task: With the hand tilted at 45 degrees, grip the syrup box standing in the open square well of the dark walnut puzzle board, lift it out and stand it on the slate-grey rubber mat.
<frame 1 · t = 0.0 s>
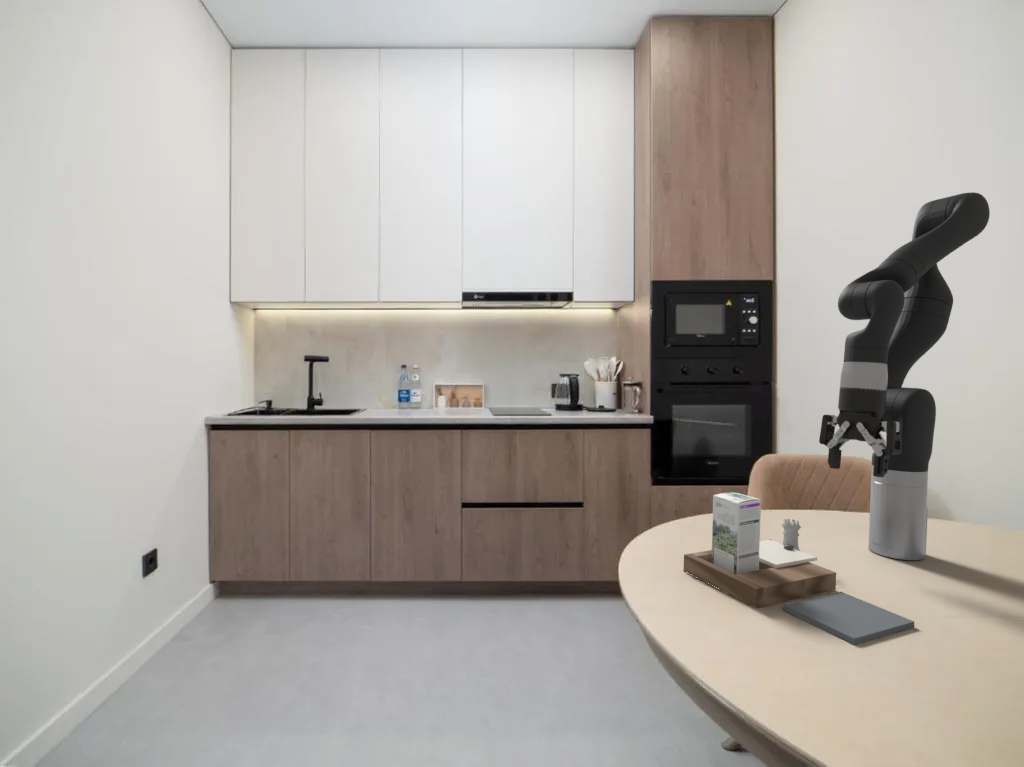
hand: (855, 472, 103), 17 cm above the table, tool pointing down, fingers open, 8 cm apart
sliding lid: (772, 551, 98), point 4 cm above the table, slide at -9.0 cm
rook chess piece: (789, 563, 103), on the table
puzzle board: (756, 580, 94), on the table
syrup box: (734, 579, 95), resting in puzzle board
rubber mat: (846, 618, 80), on the table
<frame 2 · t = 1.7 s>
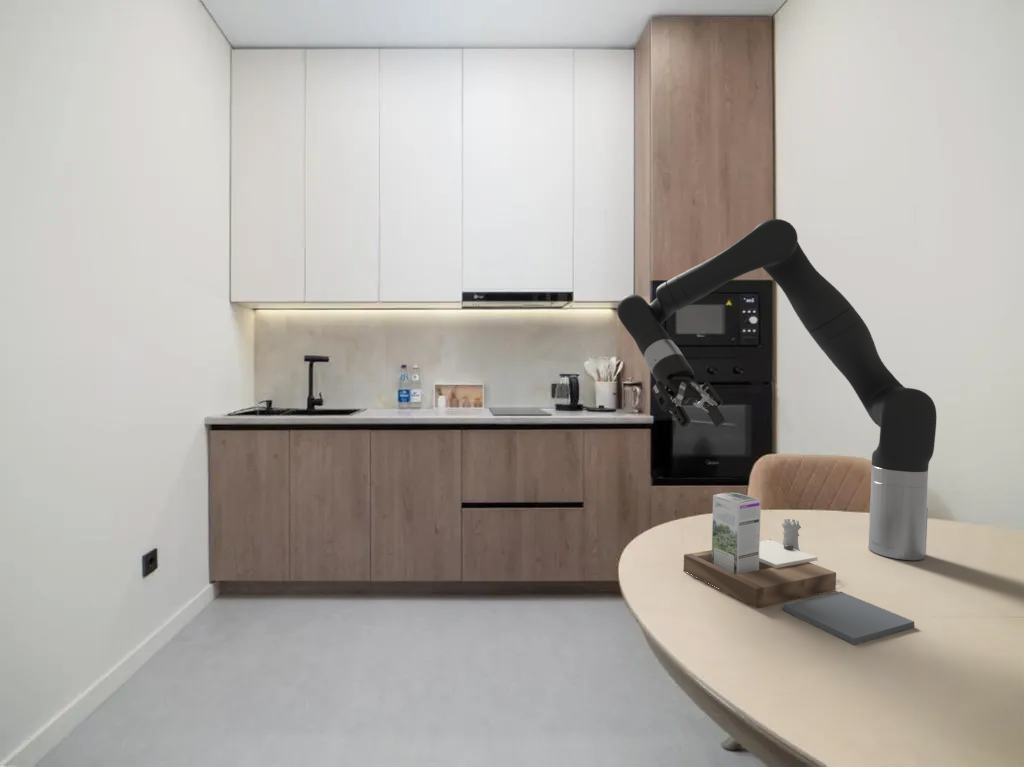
hand: (704, 424, 107), 25 cm above the table, tool tilted 45°, fingers open, 8 cm apart
nothing on the table moved.
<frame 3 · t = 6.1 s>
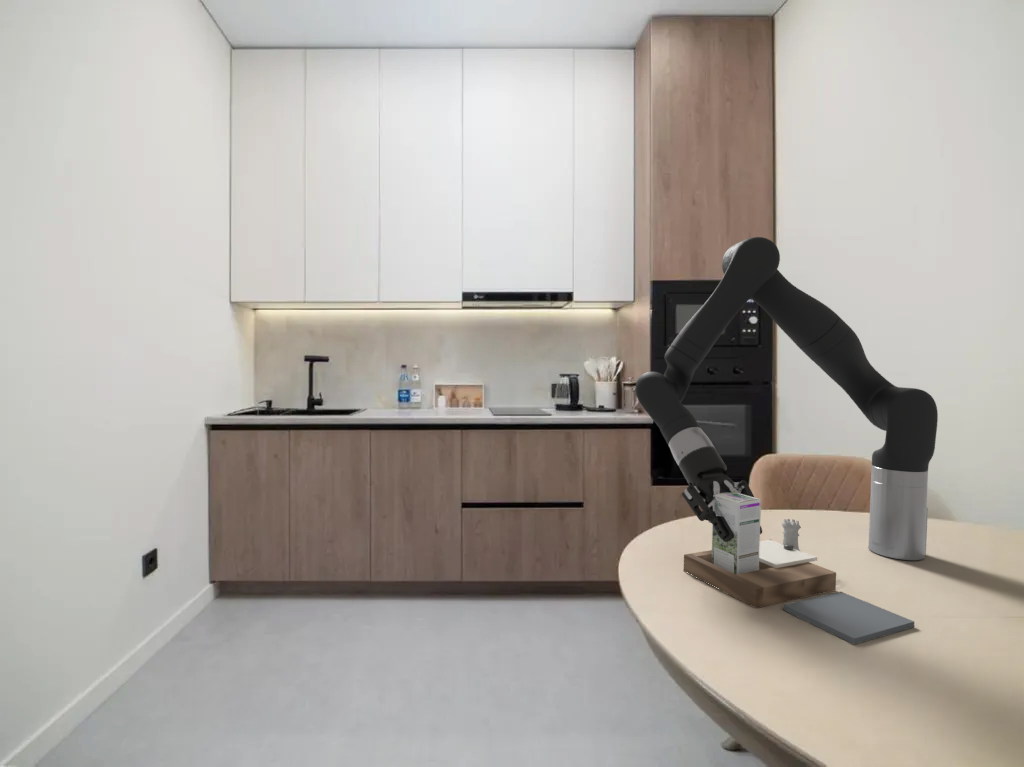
hand: (743, 537, 93), 8 cm above the table, tool tilted 45°, fingers closed on syrup box, 6 cm apart
syrup box: (734, 579, 95), resting in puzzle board, touching gripper
everything else where it was.
when the fingers open (10 cm above the table, at t = 12.7 s): syrup box drops 1 cm, resting on rubber mat.
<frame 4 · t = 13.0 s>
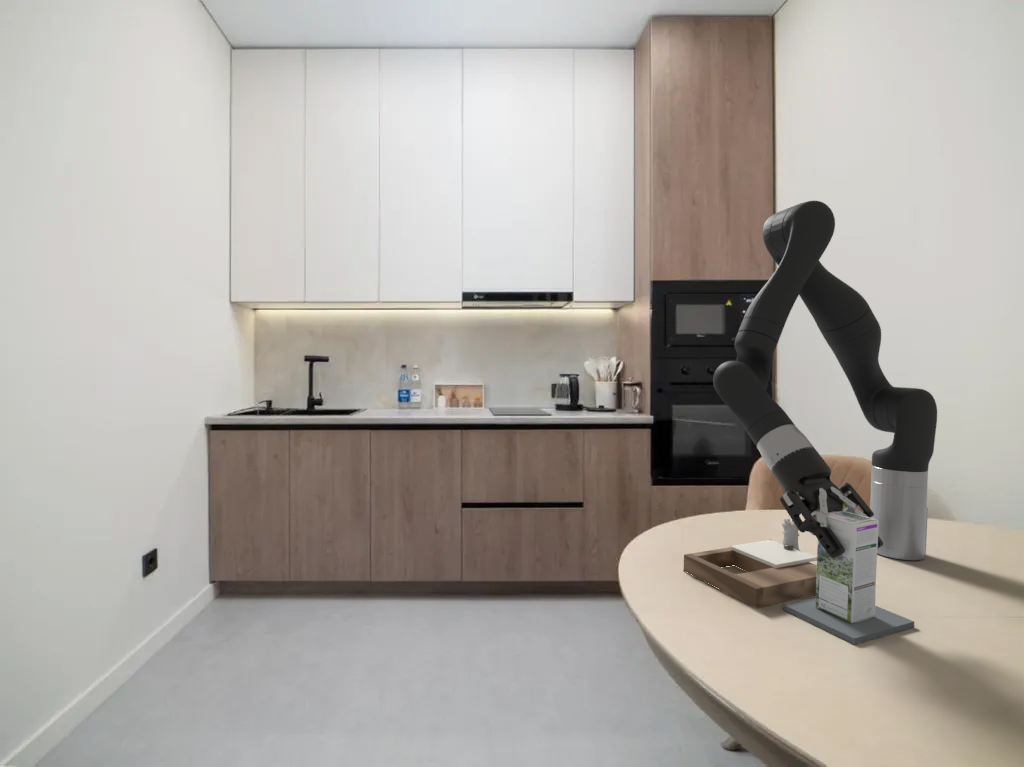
hand: (858, 551, 79), 10 cm above the table, tool tilted 45°, fingers open, 8 cm apart
syrup box: (844, 613, 81), point 1 cm above the table, touching rubber mat
everything else where it was.
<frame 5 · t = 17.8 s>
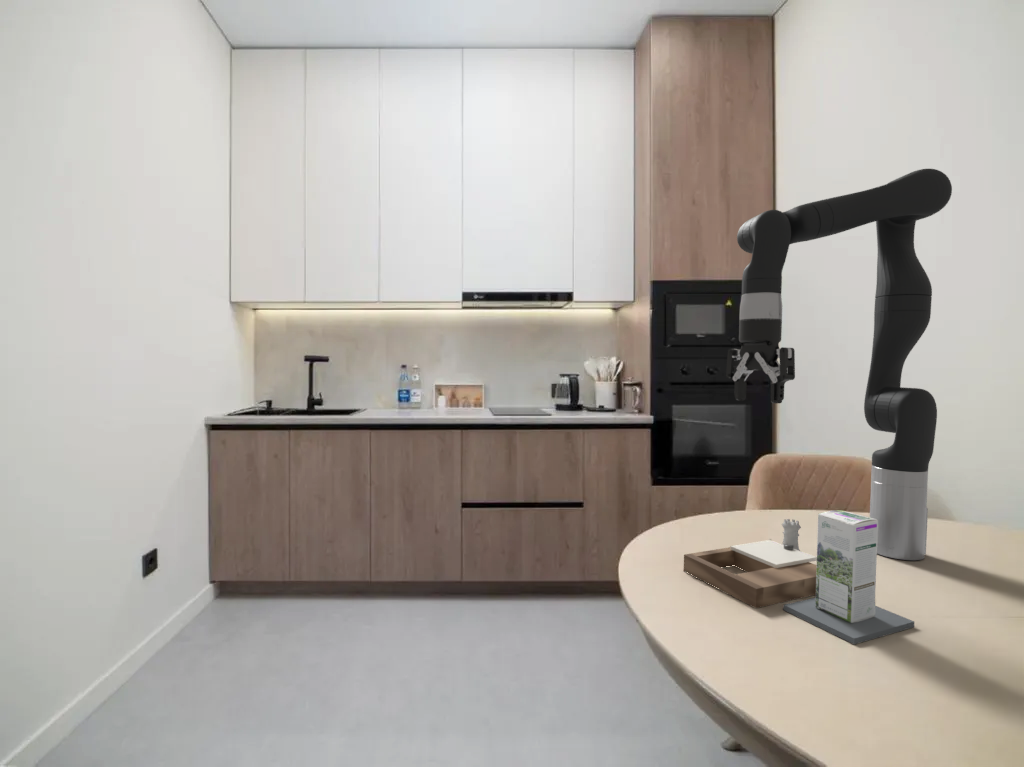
hand: (757, 401, 106), 30 cm above the table, tool pointing down, fingers open, 8 cm apart
nothing on the table moved.
at the end: syrup box inside the target area (0.4 cm from its centre), point 0.6 cm above the table; syrup box tilted 0°; the gripper is holding nothing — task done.
